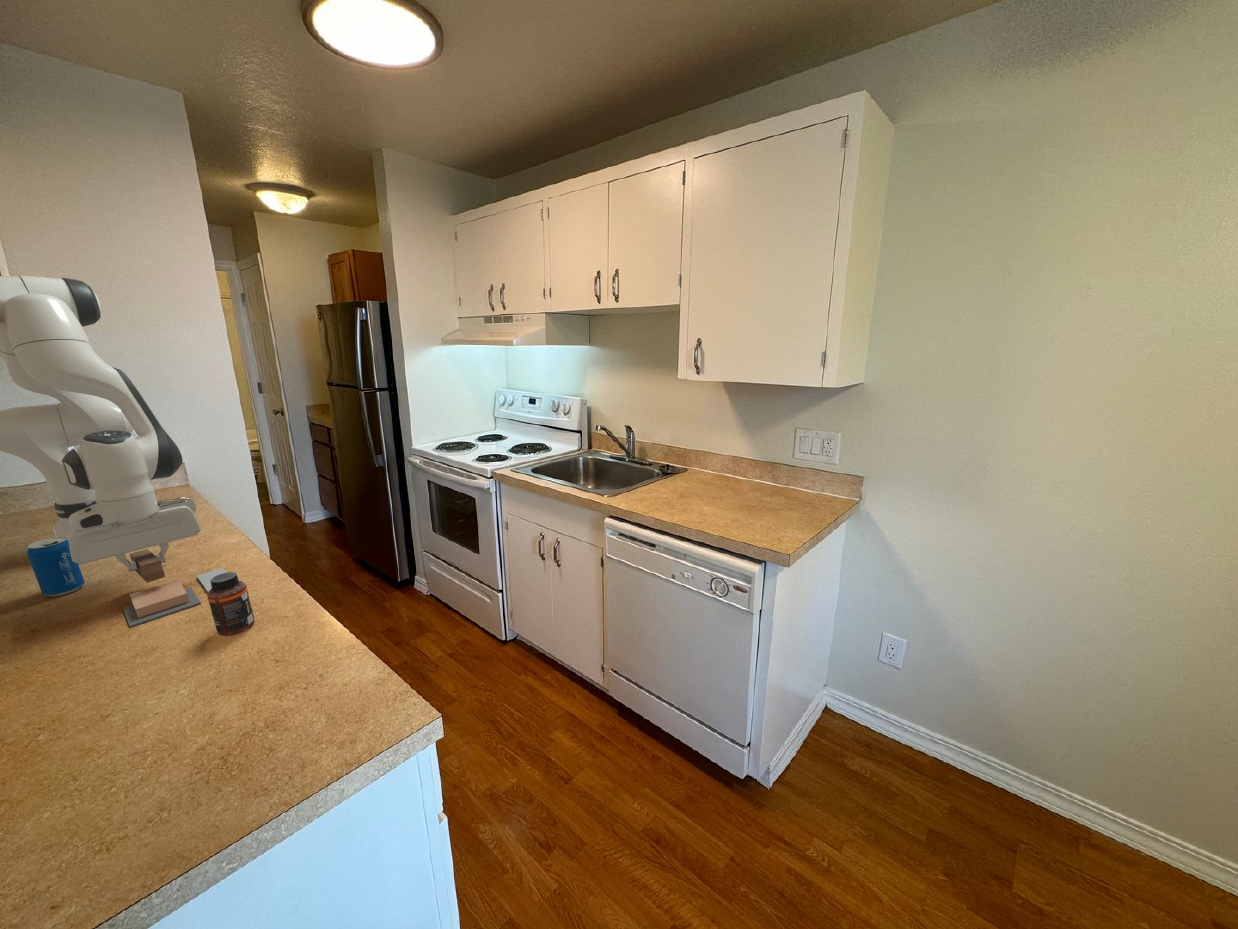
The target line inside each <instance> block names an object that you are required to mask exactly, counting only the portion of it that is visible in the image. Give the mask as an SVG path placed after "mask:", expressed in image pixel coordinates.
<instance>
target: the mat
mask: <svg viewBox="0 0 1238 929" xmlns="http://www.w3.org/2000/svg"><path fill="white" fill-rule="evenodd" d="M184 589H185V591H186V592H187V595H188V599H189V602H186V603H183V604H180V605H177V606H174V607H171V608H168V609H165V610H162V611H159V612H155V613H152V614H149V615H146V616H143V617H140V618H138V617H137V614H136V611H135V609H134V606H133V604H132V605H128V606H125V607H122V609H123V612H124V614H125V617H126V621H127V623H128V625H129V628H133V627H136V626H140V625H142V624H146V623H149V622H152V621H155V620H157V619H161V618H164V617H167V616H169V615H172V614H174V613H179V612H182V611H185V610H188V609H190V608H193V607H196V606H200V605H202V601H201V600H200V599H199V597H198V596H197V594H196V593H195V591H194V590H193V588H192V587H191V586H190V587H186V588H184Z"/></svg>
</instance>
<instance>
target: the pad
mask: <svg viewBox="0 0 1238 929" xmlns="http://www.w3.org/2000/svg"><path fill="white" fill-rule="evenodd" d="M227 572H228V571H226V569H224V568H223V567H220V568H217V569H214V570H210V571H207V572H204V573H201V574H197V575H196V578H197V581H199V583H200V584H201V586H202V587H203V588H204V590H205V591H206V592H207V593H208V592H209V591H210V589H211V588H212V587H211V582H210V580H211V579H212V578H213V577H215V576H217V575H219V574H223V573H227Z"/></svg>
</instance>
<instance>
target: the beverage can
mask: <svg viewBox="0 0 1238 929" xmlns="http://www.w3.org/2000/svg"><path fill="white" fill-rule="evenodd" d="M27 548H28V549H27V551H26V554H27V557H28V560H29V562H30V564H31V567H32V570H33V572H34V575H35V578H36V580H37V583H38V586H39V589H40V591H41V594H42V595H43V596H48V597H53V598H54V597H59V596H60V597H61V596H64V595H69V594H71V593H74V592H76V591H78V590H79V589H81V587H82V586H84V584H85V583H86V582H85V579H84V576H83V574H82V570H81V567H80V564H77V563H75V562H73V561H72V558H71V554H70V549H69V541H68V540H66V537H55V536H54V537H49V538H44V539H41V540H38V541H37V540H36V541H35V542H32V543H30V544H28V545H27Z"/></svg>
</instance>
